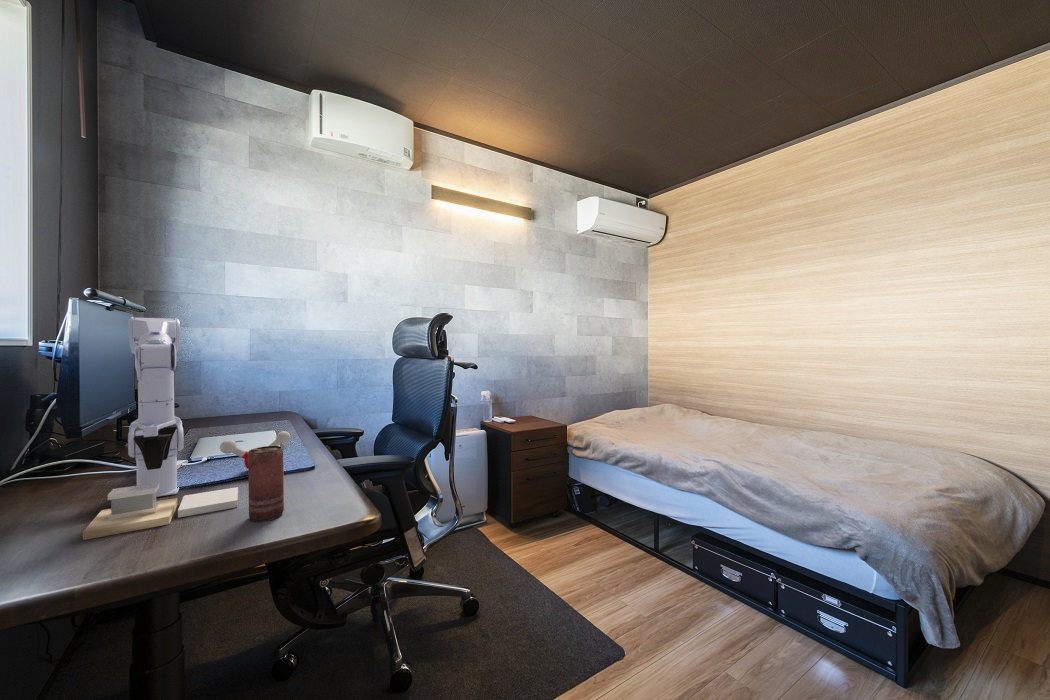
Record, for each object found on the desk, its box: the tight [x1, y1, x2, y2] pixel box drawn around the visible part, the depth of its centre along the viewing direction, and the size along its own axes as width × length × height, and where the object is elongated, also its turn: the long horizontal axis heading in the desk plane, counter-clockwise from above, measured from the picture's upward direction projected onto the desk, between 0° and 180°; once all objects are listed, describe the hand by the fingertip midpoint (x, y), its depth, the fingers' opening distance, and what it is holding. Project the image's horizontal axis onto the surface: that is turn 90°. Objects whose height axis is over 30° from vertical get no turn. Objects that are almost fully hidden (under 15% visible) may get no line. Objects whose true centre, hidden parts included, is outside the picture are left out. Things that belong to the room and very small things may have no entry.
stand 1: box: [82, 497, 179, 541], centre depth 84 cm, size 12×12×2 cm
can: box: [247, 445, 285, 523], centre depth 86 cm, size 6×6×14 cm
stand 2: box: [177, 486, 239, 518], centre depth 92 cm, size 10×10×2 cm
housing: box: [107, 483, 161, 521], centre depth 84 cm, size 7×4×5 cm, turn 123°
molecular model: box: [219, 430, 291, 470], centre depth 117 cm, size 18×6×10 cm, turn 145°
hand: (157, 464), depth 89 cm, fingers open, 7 cm apart
